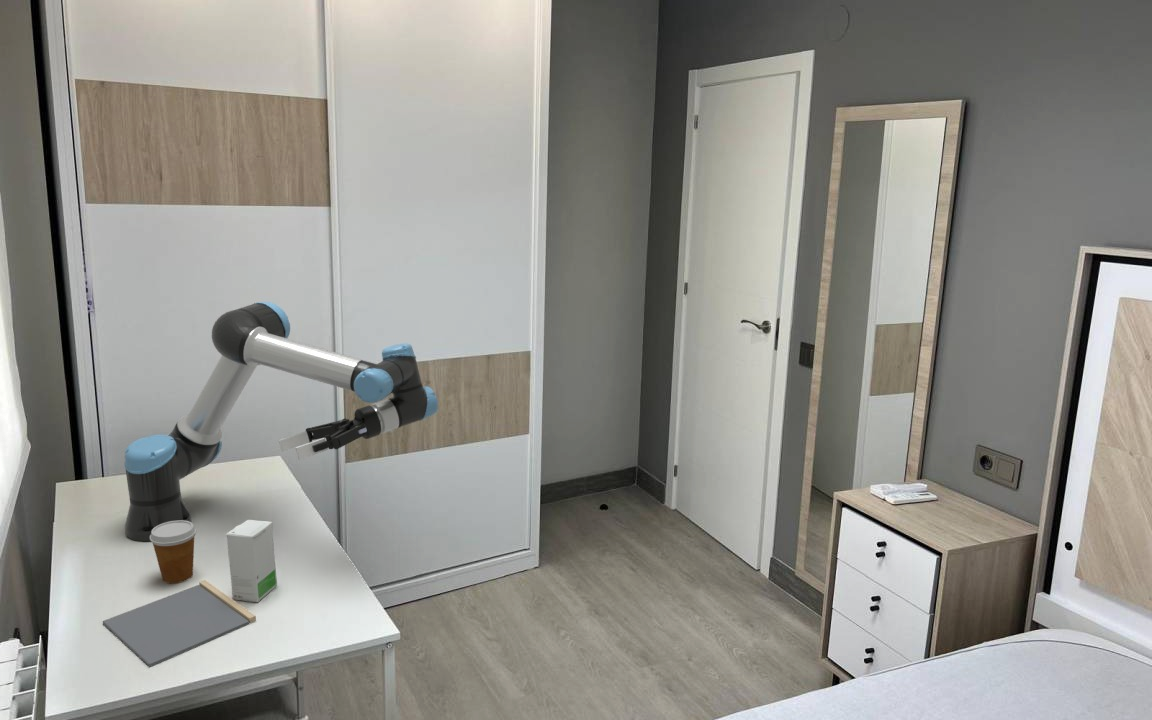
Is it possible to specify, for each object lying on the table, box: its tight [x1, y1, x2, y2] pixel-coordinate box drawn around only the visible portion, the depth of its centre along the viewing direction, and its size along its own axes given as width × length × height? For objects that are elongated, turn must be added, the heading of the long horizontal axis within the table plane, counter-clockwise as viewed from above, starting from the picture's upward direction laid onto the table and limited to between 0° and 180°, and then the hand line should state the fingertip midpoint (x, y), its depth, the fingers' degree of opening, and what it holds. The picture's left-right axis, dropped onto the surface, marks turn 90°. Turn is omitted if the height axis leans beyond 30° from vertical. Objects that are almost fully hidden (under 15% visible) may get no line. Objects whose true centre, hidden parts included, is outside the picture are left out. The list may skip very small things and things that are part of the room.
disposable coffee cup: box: [150, 520, 197, 584], centre depth 189 cm, size 10×10×12 cm
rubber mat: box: [102, 579, 257, 668], centre depth 172 cm, size 22×22×1 cm
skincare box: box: [225, 519, 278, 603], centre depth 183 cm, size 8×7×16 cm
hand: (288, 449), depth 189 cm, fingers open, 13 cm apart
